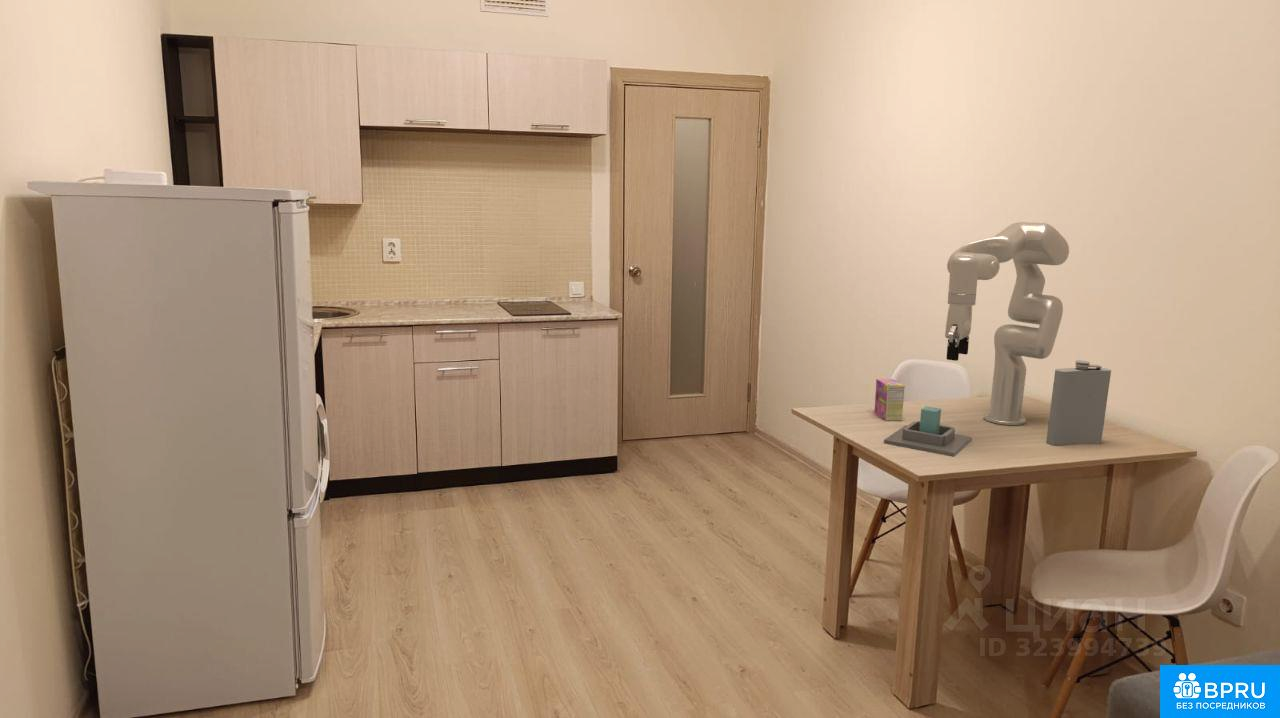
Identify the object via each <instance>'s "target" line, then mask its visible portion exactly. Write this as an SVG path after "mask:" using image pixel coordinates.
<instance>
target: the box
mask: <svg viewBox="0 0 1280 718" xmlns="http://www.w3.org/2000/svg"><path fill="white" fill-rule="evenodd" d="M874 397H875V398H874V412H875V413H874V414H876V415H878V417H880V418H881V419H883V420H884V421H885V422H887V421H888V422H889V421H890V422H891V421H893V422H894V421H895V422H896V421H903V411H904V398H905V385H904V384H903V383H900V382H899V381H897V380H895V379H894V378H876V381H875V395H874Z"/></svg>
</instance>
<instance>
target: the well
mask: <svg viewBox="0 0 1280 718" xmlns="http://www.w3.org/2000/svg"><path fill="white" fill-rule="evenodd" d="M919 428H920V420H919V421H918V420H915V421H912V422H910V423H909V424H906V425H903V426H902V427H901V428H899V429H897V430H896V431H894V432H893V433H892V434H889V436H888V437H886V438H884V440H883V444H886V445H892V446H897V447H903V448H908V449H914V450H918V451H924V452H929V453H933V454H938V455H943V454H944V455H945V456H948V455H949V456H950V457H955V456H956V455H957V454H958V453H960V452H961V450H962V449H964V448H965V447H966V446H967V445H968V444H969V443H970V442H972V440H973V436H969V435H963V434H957V433H956V428H955V427H954V426H948V425H943V424H940V427H939V435H936V434H931V433H925V432H919ZM965 445H966V446H965ZM964 446H965V447H964Z"/></svg>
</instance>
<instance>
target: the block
mask: <svg viewBox="0 0 1280 718" xmlns="http://www.w3.org/2000/svg"><path fill="white" fill-rule="evenodd" d="M941 414H942V408H940V407H932V406H924V407H923V408H921V409H920V418H919V421H920V428H919V432H925V433H931V434H936V435H939V427H940V425H941V416H942V415H941Z"/></svg>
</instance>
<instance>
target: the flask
mask: <svg viewBox="0 0 1280 718" xmlns="http://www.w3.org/2000/svg"><path fill="white" fill-rule="evenodd" d="M1074 363H1075V366H1074V367H1067V368H1066V367H1064V368H1055V370H1054V376H1053V377H1054V378H1053V383H1052V384H1053V385H1052V386H1053V387H1052V393H1051V399H1050V400H1051V402H1050V409H1049V418H1048V426H1047V432H1046V440H1045V443H1046V444H1047V445H1049V446H1052V447H1053V446H1054V447H1059V446H1069V445H1101V444H1102V439H1103V431H1104V425H1105V417H1106V411H1107V403H1108V398H1109V397H1108V396H1109V388H1110V383H1111V376H1112V375H1111V373H1112V370H1111V369H1109V368H1104V367H1102V366H1101V365H1099V364H1091V363H1090V361H1087V360H1082V359H1081V360H1079V359H1078V360H1075V362H1074Z"/></svg>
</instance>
